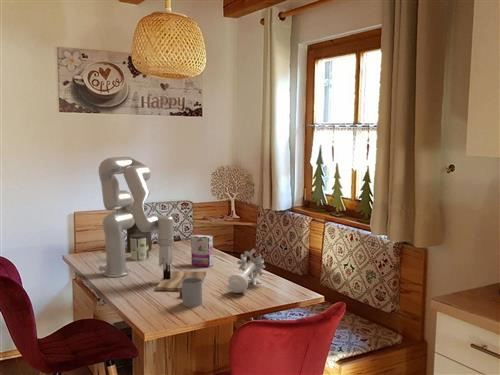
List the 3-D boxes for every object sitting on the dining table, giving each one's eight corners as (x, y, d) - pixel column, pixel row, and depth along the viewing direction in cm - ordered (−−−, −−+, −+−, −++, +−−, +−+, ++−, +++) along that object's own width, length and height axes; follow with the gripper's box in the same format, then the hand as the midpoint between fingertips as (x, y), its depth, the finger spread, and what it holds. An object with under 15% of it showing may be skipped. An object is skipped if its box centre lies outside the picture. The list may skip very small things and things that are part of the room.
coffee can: (139, 256, 306) (138, 232, 304) (152, 258, 300) (152, 234, 299) (126, 259, 297) (125, 235, 295) (140, 262, 291) (139, 237, 290)
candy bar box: (213, 265, 283) (213, 235, 281) (209, 267, 279) (209, 237, 277) (195, 263, 287) (194, 234, 286) (191, 265, 283) (190, 235, 281)
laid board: (176, 291, 238) (176, 287, 237) (186, 274, 265) (186, 271, 265) (198, 291, 237) (198, 287, 237) (205, 274, 265) (205, 271, 265)
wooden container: (156, 248, 324) (155, 213, 322) (142, 253, 311) (141, 217, 309) (136, 246, 330) (135, 212, 328) (122, 251, 317) (120, 216, 315)
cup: (183, 300, 224) (182, 278, 223) (202, 299, 225) (201, 277, 224) (182, 307, 216) (181, 283, 215) (202, 306, 216) (201, 283, 215)
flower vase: (246, 309, 232) (266, 280, 254) (248, 274, 225) (269, 248, 246) (220, 300, 237) (242, 273, 258) (221, 266, 229) (244, 241, 251)
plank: (156, 290, 238) (156, 287, 238) (168, 273, 266) (168, 270, 266) (175, 290, 238) (175, 287, 237) (185, 274, 265) (185, 271, 265)
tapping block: (185, 299, 227) (185, 292, 227) (179, 297, 230) (179, 290, 229) (199, 294, 233) (199, 288, 233) (193, 292, 236) (192, 286, 235)
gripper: (161, 238, 257) (162, 274, 259) (154, 245, 242) (155, 283, 244) (176, 238, 257) (177, 274, 259) (170, 245, 242) (171, 283, 244)
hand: (167, 278), depth 251 cm, fingers closed
